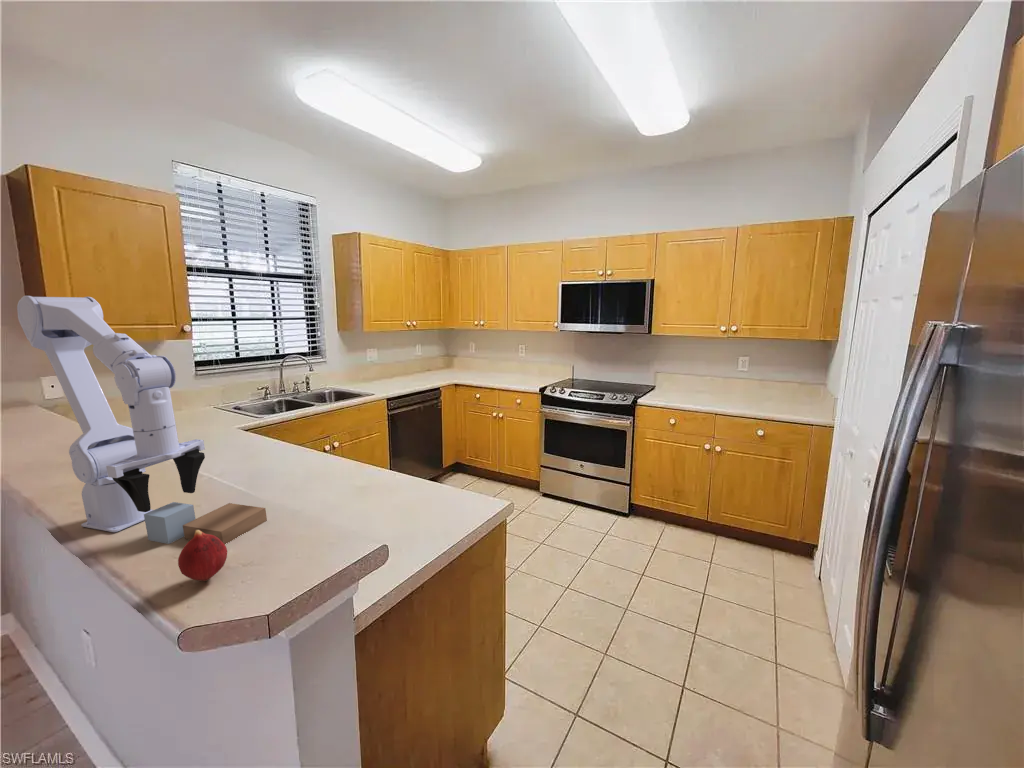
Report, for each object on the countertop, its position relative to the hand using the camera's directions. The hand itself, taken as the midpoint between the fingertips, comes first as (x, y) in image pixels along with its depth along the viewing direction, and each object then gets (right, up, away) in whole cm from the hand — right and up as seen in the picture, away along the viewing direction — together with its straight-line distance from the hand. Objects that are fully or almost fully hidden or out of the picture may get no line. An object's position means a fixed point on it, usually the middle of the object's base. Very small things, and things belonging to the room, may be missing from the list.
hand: (167, 501), depth 75 cm
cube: (0, -7, +1) cm, 7 cm away
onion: (+16, -9, -12) cm, 22 cm away
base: (+9, -6, +3) cm, 11 cm away
